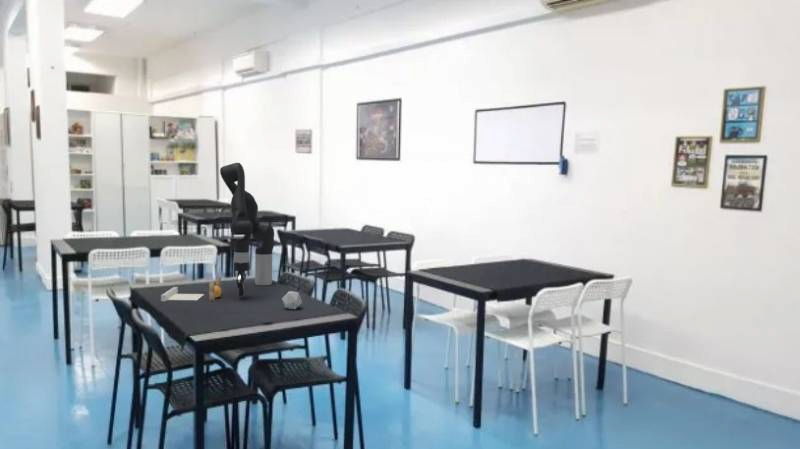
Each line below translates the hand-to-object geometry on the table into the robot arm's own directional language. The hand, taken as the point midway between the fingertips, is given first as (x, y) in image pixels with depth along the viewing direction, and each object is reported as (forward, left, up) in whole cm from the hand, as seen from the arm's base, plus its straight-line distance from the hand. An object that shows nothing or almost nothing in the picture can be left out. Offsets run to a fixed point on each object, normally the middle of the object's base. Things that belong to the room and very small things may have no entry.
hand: (241, 295), depth 298 cm
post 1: (+6, -13, -2) cm, 14 cm away
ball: (-1, -13, +2) cm, 13 cm away
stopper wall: (-1, -35, -2) cm, 35 cm away
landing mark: (-1, -27, -2) cm, 27 cm away
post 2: (-8, -13, -2) cm, 15 cm away
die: (+20, +27, -2) cm, 34 cm away
